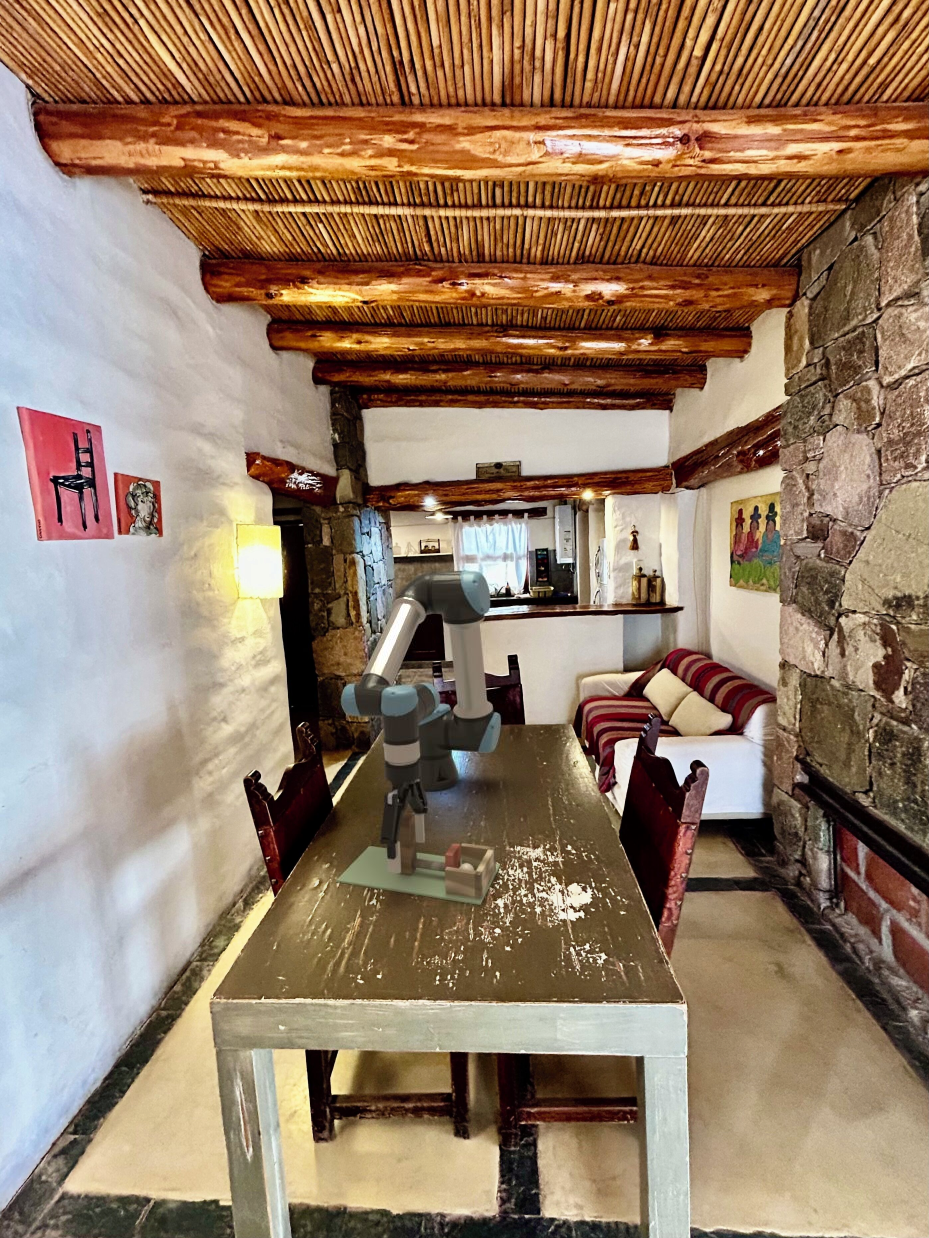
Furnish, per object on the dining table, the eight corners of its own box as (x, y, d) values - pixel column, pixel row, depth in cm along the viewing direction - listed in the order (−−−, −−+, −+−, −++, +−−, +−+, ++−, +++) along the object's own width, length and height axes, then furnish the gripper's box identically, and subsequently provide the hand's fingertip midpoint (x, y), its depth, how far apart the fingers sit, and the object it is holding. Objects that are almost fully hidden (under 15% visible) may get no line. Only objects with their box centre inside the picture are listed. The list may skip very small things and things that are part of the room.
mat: (369, 847, 138) (369, 845, 138) (500, 865, 128) (500, 863, 128) (336, 881, 124) (336, 879, 124) (480, 905, 114) (480, 903, 114)
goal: (463, 864, 128) (462, 843, 128) (495, 869, 126) (495, 847, 126) (445, 893, 118) (444, 869, 117) (480, 898, 116) (480, 874, 115)
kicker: (405, 862, 129) (402, 810, 128) (461, 870, 125) (458, 817, 124) (395, 874, 125) (393, 821, 123) (453, 883, 121) (451, 827, 119)
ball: (480, 870, 123) (468, 878, 124) (469, 856, 123) (457, 865, 125) (475, 879, 120) (463, 887, 121) (464, 865, 120) (452, 874, 121)
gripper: (409, 740, 137) (413, 828, 139) (358, 779, 114) (364, 883, 116) (439, 742, 134) (443, 831, 136) (393, 782, 111) (399, 889, 114)
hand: (407, 856), depth 126 cm, fingers open, 12 cm apart
